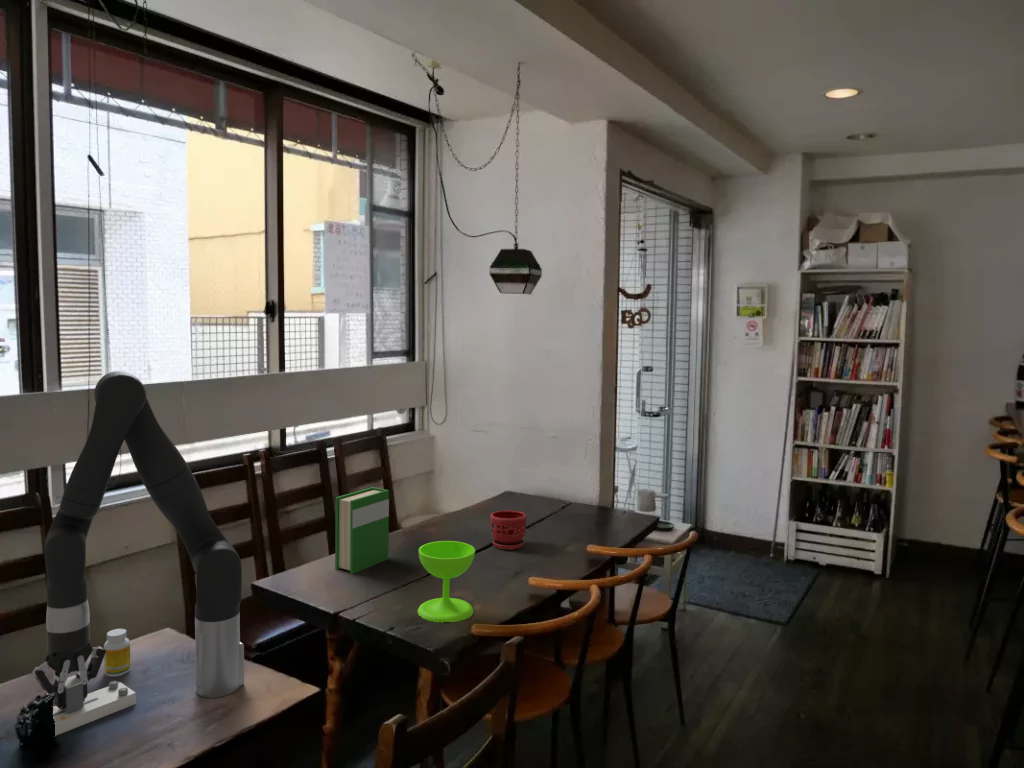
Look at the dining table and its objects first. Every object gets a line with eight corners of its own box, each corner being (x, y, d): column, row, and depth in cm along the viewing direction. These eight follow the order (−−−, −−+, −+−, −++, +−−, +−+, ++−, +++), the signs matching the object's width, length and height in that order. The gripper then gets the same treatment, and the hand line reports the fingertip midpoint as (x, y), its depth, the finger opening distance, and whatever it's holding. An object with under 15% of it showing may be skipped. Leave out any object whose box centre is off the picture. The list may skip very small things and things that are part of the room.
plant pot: (532, 544, 276) (533, 513, 274) (513, 554, 265) (514, 521, 263) (502, 538, 283) (503, 507, 281) (482, 547, 271) (483, 514, 270)
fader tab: (75, 700, 156) (74, 675, 155) (83, 707, 153) (82, 681, 153) (59, 706, 153) (58, 680, 153) (67, 713, 151) (66, 687, 150)
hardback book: (352, 574, 241) (352, 500, 238) (335, 569, 245) (335, 497, 242) (388, 559, 256) (389, 490, 253) (371, 554, 260) (372, 487, 257)
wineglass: (484, 608, 217) (486, 547, 215) (452, 627, 203) (453, 563, 201) (439, 596, 225) (440, 537, 223) (405, 613, 211) (406, 551, 209)
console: (120, 692, 165) (119, 677, 164) (135, 703, 160) (135, 688, 160) (39, 723, 152) (39, 707, 152) (54, 736, 148) (53, 719, 148)
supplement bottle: (101, 671, 174) (99, 631, 173) (125, 664, 178) (124, 625, 177) (109, 679, 170) (108, 639, 169) (134, 672, 174) (133, 632, 173)
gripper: (96, 608, 159) (98, 685, 161) (21, 629, 148) (25, 712, 150) (112, 617, 155) (115, 697, 157) (37, 640, 144) (40, 725, 146)
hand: (71, 704), depth 153 cm, fingers closed on fader tab, 3 cm apart
